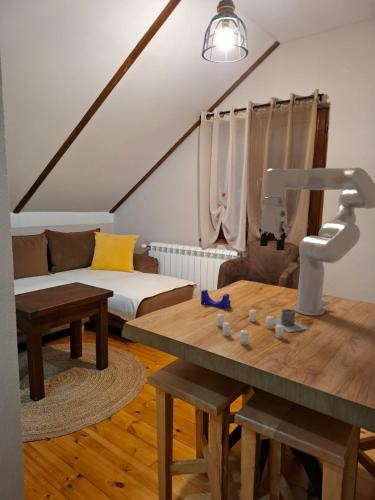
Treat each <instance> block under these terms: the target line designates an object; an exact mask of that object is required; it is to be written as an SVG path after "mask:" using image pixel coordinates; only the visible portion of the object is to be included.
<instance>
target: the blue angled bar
mask: <svg viewBox="0 0 375 500" xmlns="http://www.w3.org/2000/svg"><path fill="white" fill-rule="evenodd" d="M200 294H201V295H200V296H201V297H200V304H201V305H204V306H208V305H209V307H213V306H214V307H213V308H217V307H218V309H223V310H227V309H229V308H231V301H232V300H231V299H230V294H229V293H225V294H223V295H222V299H221V300H218V301H214V300H213V299H212V298H211V297H210V295H209V291H208V289H203V290H201V291H200ZM204 303H205V304H204Z"/></svg>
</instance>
